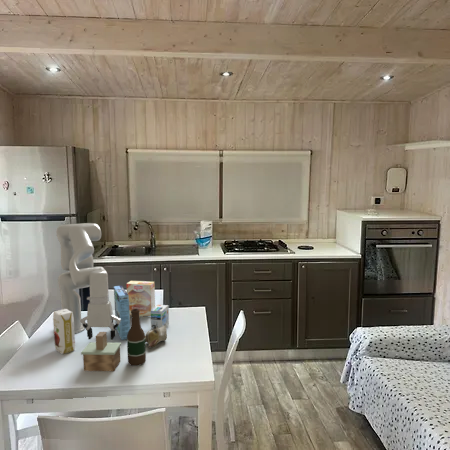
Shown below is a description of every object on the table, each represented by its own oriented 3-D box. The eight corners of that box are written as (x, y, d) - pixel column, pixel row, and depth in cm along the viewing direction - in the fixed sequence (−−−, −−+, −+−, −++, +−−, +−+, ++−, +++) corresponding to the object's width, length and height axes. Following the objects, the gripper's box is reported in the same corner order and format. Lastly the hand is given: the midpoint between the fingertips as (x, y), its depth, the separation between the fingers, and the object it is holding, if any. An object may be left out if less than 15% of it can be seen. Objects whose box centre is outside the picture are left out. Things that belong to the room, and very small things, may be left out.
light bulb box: (162, 330, 215) (162, 311, 214) (150, 330, 217) (150, 310, 215) (169, 323, 226) (168, 304, 224) (157, 322, 227) (157, 304, 226)
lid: (81, 357, 171) (80, 338, 170) (90, 347, 181) (89, 329, 179) (114, 357, 170) (113, 338, 169) (121, 347, 180) (120, 329, 179)
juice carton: (69, 345, 198) (67, 307, 195) (77, 350, 191) (74, 311, 189) (53, 350, 192) (51, 311, 190) (61, 355, 186) (58, 315, 184)
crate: (83, 370, 172) (82, 353, 171) (91, 361, 181) (90, 345, 180) (114, 371, 171) (113, 354, 170) (120, 361, 180) (119, 345, 179)
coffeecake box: (127, 315, 238) (125, 283, 236) (131, 311, 245) (130, 280, 243) (151, 317, 236) (150, 284, 233) (155, 313, 243) (154, 281, 240)
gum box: (130, 338, 205) (129, 294, 202) (120, 340, 203) (118, 296, 200) (124, 325, 223) (122, 285, 220) (114, 327, 221) (113, 286, 218)
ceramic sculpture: (172, 324, 200) (148, 335, 189) (173, 341, 201) (149, 353, 190) (158, 319, 207) (134, 330, 196) (159, 335, 208) (135, 347, 197)
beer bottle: (137, 367, 174) (135, 314, 171) (124, 363, 178) (122, 310, 175) (149, 360, 181) (148, 308, 178) (136, 356, 185) (135, 305, 182)
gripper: (75, 302, 169) (78, 341, 171) (117, 302, 168) (118, 341, 170) (82, 297, 176) (85, 335, 178) (122, 296, 176) (124, 335, 178)
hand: (101, 338), depth 174 cm, fingers open, 9 cm apart
